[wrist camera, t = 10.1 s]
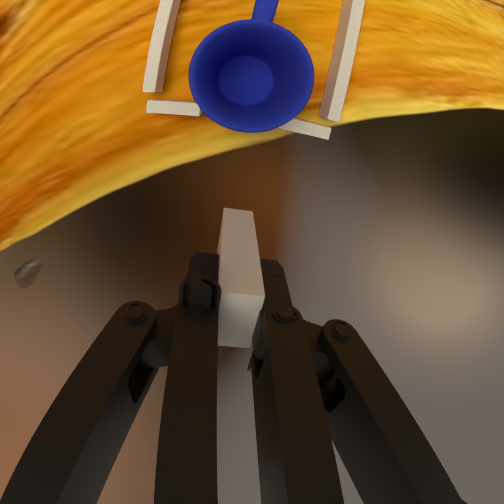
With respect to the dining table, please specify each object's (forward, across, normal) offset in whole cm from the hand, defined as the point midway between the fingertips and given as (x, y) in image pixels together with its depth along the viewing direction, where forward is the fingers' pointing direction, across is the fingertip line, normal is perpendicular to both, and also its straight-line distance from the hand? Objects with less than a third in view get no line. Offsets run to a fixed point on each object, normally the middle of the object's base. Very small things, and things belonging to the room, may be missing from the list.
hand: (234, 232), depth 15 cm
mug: (+16, 0, +11) cm, 19 cm away
